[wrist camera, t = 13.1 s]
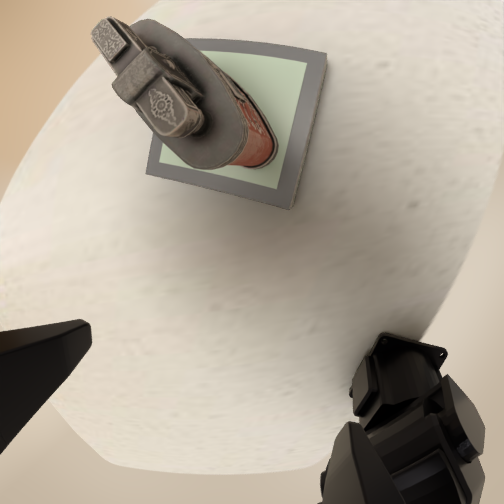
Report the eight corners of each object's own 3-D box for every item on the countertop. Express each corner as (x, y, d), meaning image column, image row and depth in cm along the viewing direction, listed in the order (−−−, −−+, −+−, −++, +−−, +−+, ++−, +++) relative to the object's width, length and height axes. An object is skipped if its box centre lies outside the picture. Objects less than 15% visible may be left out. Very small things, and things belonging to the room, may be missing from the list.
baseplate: (327, 64, 16) (326, 52, 14) (292, 206, 19) (288, 210, 17) (190, 47, 18) (177, 38, 16) (160, 173, 21) (144, 174, 19)
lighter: (292, 147, 16) (245, 117, 7) (246, 181, 17) (154, 197, 8) (213, 54, 16) (118, -19, 6) (174, 88, 17) (60, 46, 7)
